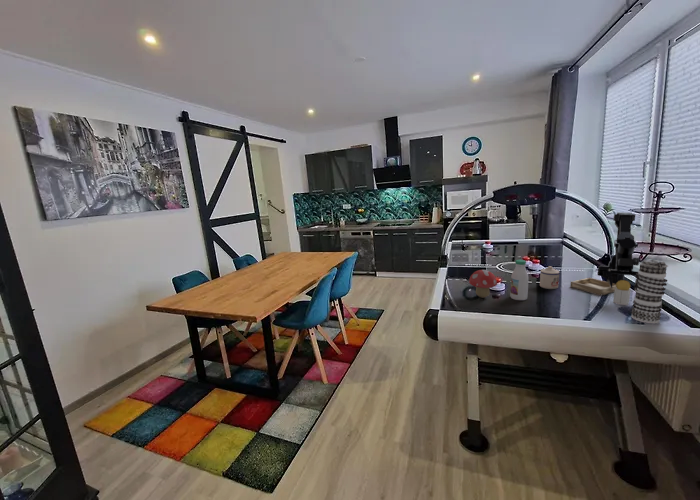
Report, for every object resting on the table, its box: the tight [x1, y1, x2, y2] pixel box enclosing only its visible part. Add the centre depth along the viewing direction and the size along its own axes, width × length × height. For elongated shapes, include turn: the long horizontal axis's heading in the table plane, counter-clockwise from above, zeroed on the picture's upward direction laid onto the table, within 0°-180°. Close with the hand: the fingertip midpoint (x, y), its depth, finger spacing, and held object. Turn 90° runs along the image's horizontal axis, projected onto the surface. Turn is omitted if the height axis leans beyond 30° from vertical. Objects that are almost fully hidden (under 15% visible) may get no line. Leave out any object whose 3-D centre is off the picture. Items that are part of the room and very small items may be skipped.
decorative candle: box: [630, 258, 669, 324], centre depth 120 cm, size 9×9×25 cm
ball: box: [616, 279, 631, 290], centre depth 137 cm, size 5×5×5 cm
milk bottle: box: [509, 259, 529, 301], centre depth 151 cm, size 8×8×20 cm
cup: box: [612, 287, 631, 306], centre depth 138 cm, size 5×5×7 cm
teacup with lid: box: [539, 265, 560, 290], centre depth 165 cm, size 12×9×12 cm
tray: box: [569, 277, 616, 296], centre depth 158 cm, size 15×15×3 cm
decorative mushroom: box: [468, 269, 498, 299], centre depth 155 cm, size 13×13×15 cm
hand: (623, 288), depth 137 cm, fingers open, 8 cm apart
